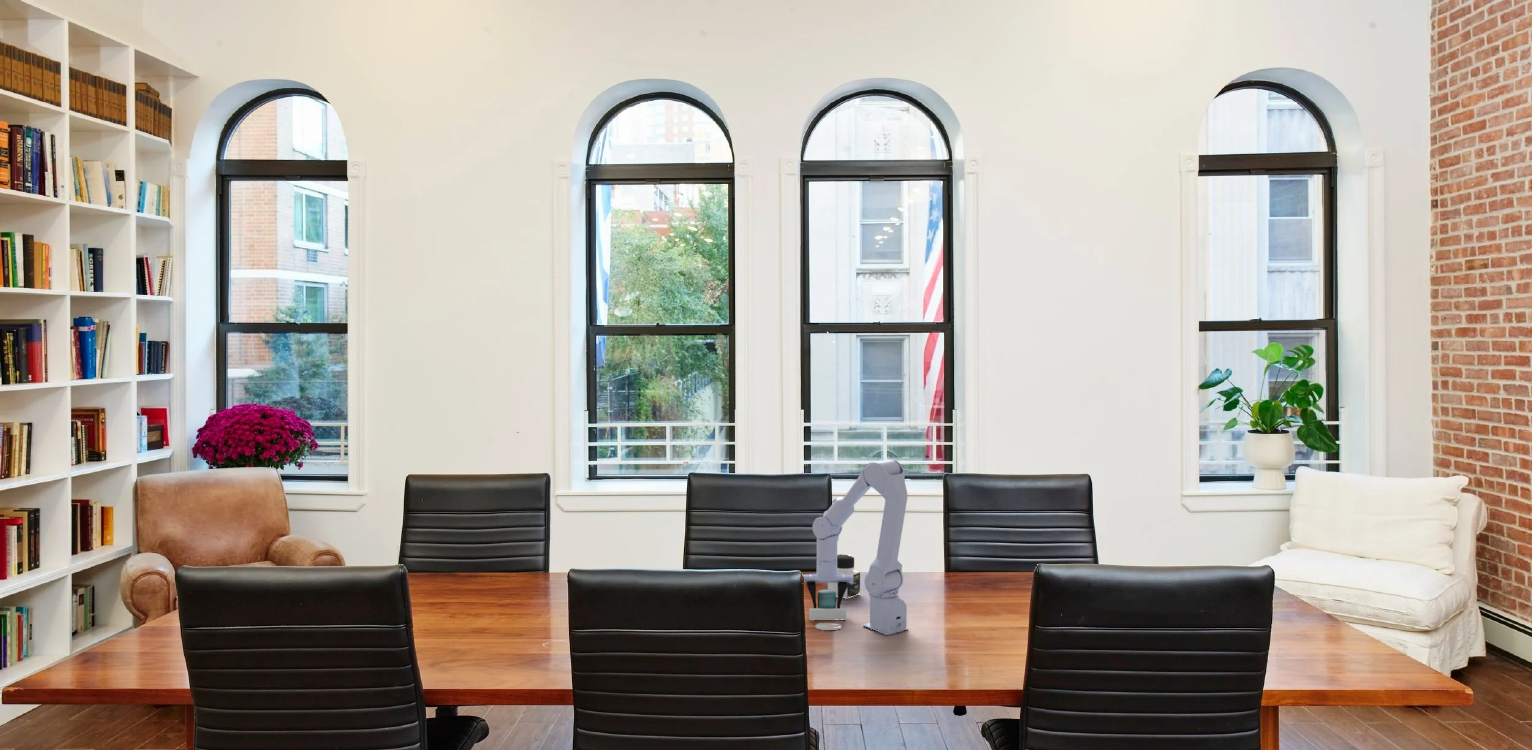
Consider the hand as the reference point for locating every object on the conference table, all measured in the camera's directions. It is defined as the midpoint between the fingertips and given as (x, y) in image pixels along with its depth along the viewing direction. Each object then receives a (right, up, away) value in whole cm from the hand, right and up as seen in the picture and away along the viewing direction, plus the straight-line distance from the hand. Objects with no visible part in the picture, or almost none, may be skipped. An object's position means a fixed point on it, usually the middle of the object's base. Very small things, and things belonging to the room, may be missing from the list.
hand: (826, 608), depth 252 cm
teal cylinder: (0, -2, 0) cm, 2 cm away
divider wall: (0, -2, -6) cm, 6 cm away
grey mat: (0, -2, -12) cm, 12 cm away
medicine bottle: (+6, -1, +19) cm, 20 cm away
